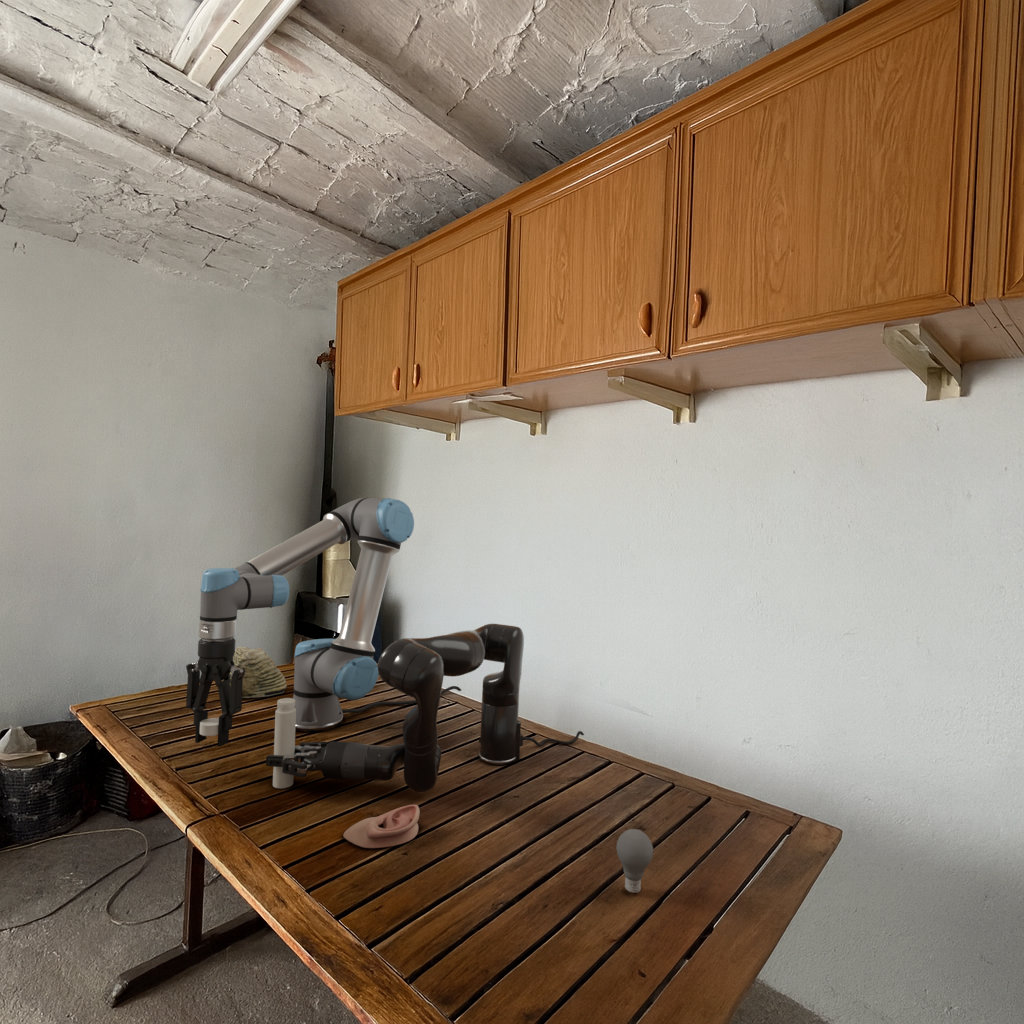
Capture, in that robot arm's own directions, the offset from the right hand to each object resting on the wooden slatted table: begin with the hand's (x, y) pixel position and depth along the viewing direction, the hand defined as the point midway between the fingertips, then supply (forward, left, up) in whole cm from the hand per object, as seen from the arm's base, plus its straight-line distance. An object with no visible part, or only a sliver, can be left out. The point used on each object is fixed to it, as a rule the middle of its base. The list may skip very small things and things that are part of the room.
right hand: (271, 755), depth 139 cm
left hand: (+12, -7, +1) cm, 15 cm away
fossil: (+3, -65, -6) cm, 66 cm away
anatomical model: (-19, +28, -6) cm, 34 cm away
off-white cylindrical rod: (-2, +1, -6) cm, 7 cm away
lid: (+12, -7, +6) cm, 16 cm away
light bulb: (-55, +58, -6) cm, 81 cm away
